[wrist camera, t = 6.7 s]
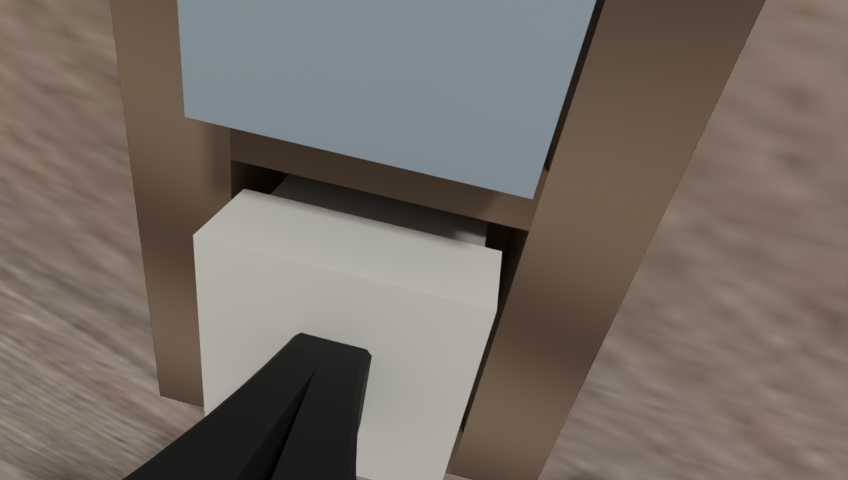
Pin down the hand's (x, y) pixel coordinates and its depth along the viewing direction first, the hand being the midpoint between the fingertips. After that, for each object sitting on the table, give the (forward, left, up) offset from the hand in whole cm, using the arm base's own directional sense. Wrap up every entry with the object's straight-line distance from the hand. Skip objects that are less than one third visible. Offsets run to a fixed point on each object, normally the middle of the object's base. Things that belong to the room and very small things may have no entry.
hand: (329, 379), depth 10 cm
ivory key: (0, 0, -3) cm, 3 cm away
